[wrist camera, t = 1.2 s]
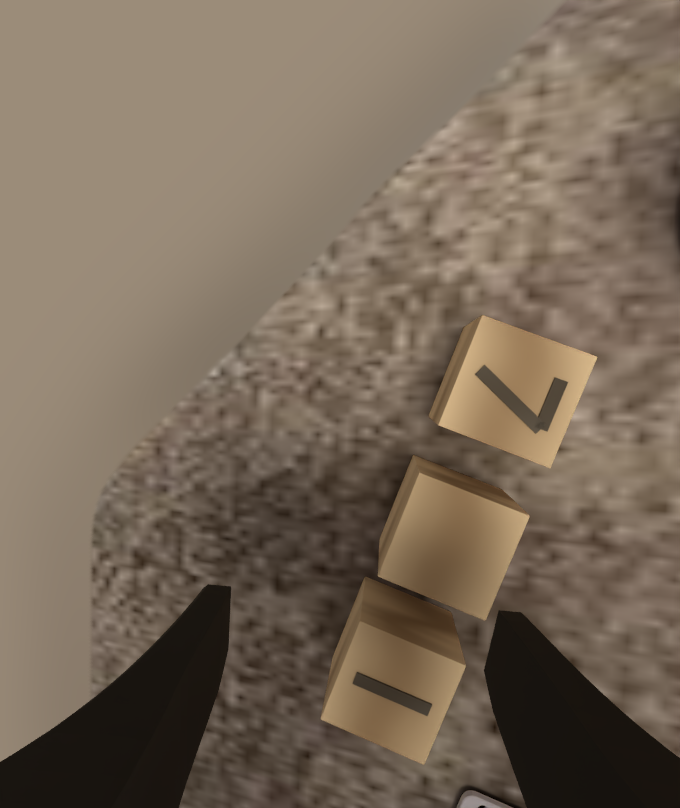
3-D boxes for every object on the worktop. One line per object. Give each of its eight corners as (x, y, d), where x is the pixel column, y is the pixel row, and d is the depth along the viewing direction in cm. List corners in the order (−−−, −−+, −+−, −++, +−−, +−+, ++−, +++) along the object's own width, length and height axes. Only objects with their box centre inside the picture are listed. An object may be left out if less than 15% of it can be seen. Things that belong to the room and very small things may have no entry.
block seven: (554, 361, 22) (598, 356, 18) (518, 450, 23) (550, 468, 18) (463, 327, 23) (482, 314, 18) (428, 416, 23) (438, 425, 18)
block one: (451, 611, 23) (466, 667, 19) (416, 692, 24) (424, 766, 19) (365, 575, 24) (359, 622, 19) (332, 656, 24) (320, 721, 20)
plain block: (501, 489, 23) (529, 515, 18) (466, 574, 23) (485, 620, 19) (412, 454, 23) (419, 472, 19) (379, 539, 24) (377, 576, 19)
